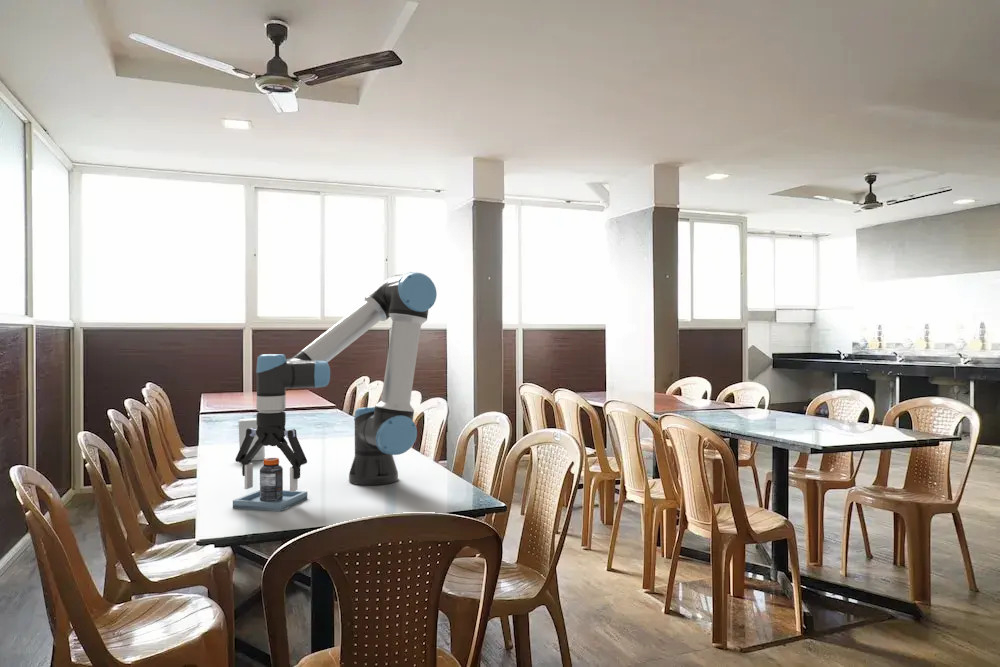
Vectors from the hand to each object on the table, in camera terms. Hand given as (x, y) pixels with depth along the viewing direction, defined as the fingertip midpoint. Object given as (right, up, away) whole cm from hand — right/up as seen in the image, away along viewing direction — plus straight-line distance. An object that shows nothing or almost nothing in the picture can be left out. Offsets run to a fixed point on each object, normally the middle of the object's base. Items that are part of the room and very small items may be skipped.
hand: (271, 489), depth 192 cm
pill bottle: (0, -3, 0) cm, 3 cm away
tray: (0, -4, 0) cm, 4 cm away
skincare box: (-28, -4, +64) cm, 70 cm away
